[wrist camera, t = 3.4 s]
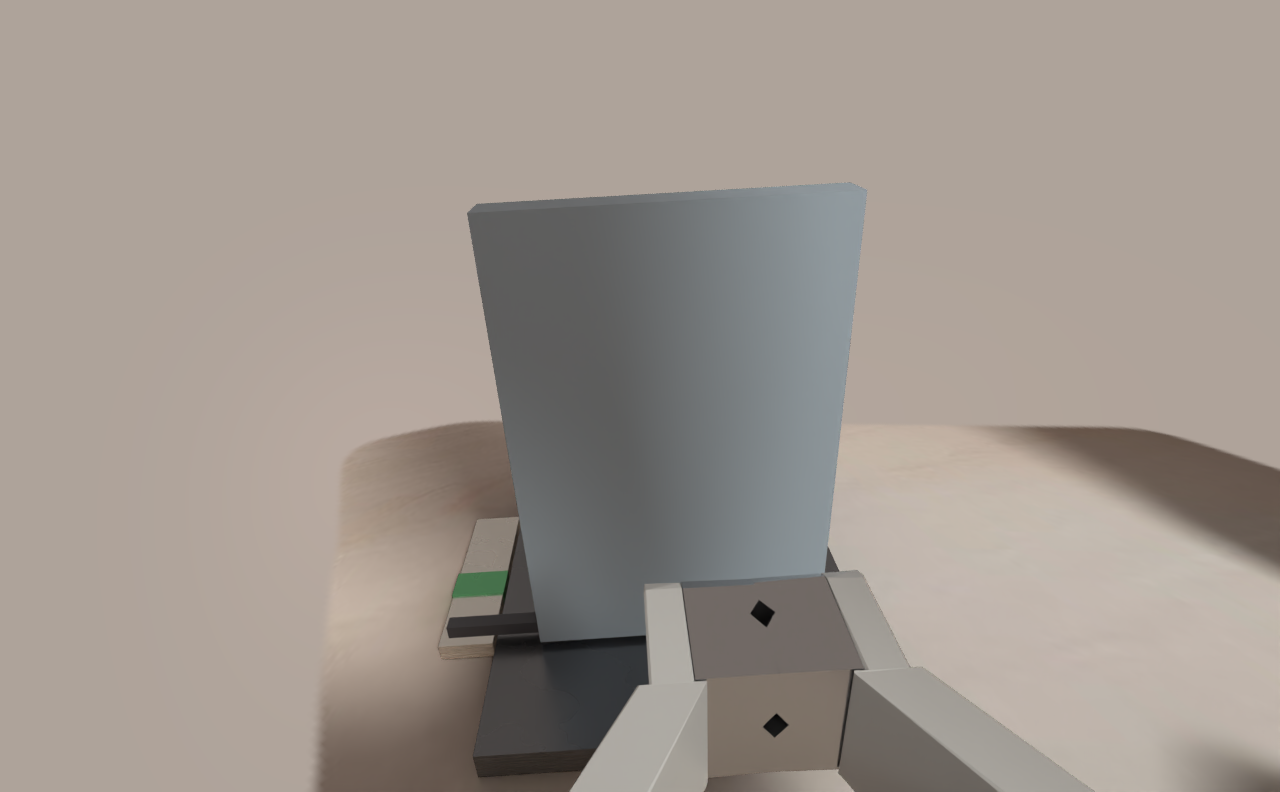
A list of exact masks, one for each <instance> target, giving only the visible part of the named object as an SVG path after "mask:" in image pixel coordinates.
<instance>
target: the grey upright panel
mask: <svg viewBox="0 0 1280 792" xmlns="http://www.w3.org/2000/svg"><path fill="white" fill-rule="evenodd" d="M866 196H867V190H866V189H864V188H862V187H859V186H857V185H855V184H852V183H834V184H815V185H798V186H782V187H781V186H780V187H763V188H746V189H728V190H712V191H694V192H677V193H659V194H642V195H624V196H607V197H590V198H572V199H555V200H538V201H521V202H503V203H486V204H476V205H475V206H474V207H473V208H472V209H471V210H470V211H469V212H468V213H467V215H468V221H469V227H470V233H471V239H472V244H473V250H474V256H475V262H476V268H477V274H478V280H479V286H480V291H481V297H482V303H483V309H484V315H485V320H486V326H487V332H488V338H489V344H490V350H491V356H492V361H493V367H494V373H495V379H496V385H497V391H498V396H499V402H500V408H501V414H502V420H503V426H504V432H505V438H506V443H507V449H508V455H509V461H510V467H511V473H512V479H513V484H514V490H515V496H516V502H517V508H518V514H519V520H520V525H521V531H522V537H523V543H524V549H525V555H526V561H527V566H528V572H529V578H530V584H531V590H532V596H533V601H534V607H535V612H528V613H513V614H497V615H482V616H467V617H451V618H449V621H448V625H447V628H446V629H447V633H448V636H449V638H462V637H477V636H492V635H507V634H523V633H538V632H539V637H540V642H552V641H567V640H582V639H597V638H613V637H628V636H643V635H646V624H645V607H644V584H654V583H680V585H681V582H685V581H710V580H735V579H750V578H764V577H777V576H791V575H805V574H821V573H825V565H826V556H827V547H828V538H829V529H830V520H831V511H832V502H833V493H834V484H835V475H836V466H837V457H838V448H839V439H840V430H841V421H842V412H843V403H844V394H845V385H846V376H847V367H848V358H849V349H850V340H851V331H852V322H853V313H854V304H855V295H856V286H857V277H858V268H859V259H860V250H861V241H862V231H863V223H864V213H865V205H866Z"/></svg>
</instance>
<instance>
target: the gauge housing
mask: <svg viewBox="0 0 1280 792" xmlns="http://www.w3.org/2000/svg"><path fill="white" fill-rule="evenodd" d="M828 572H839V570H838V567H837V565H836V563H835V561H834V559H833V556H832V554H831V552H830V550H829V548H828V547H827V556H826V565H825V573H828ZM452 597H453V600H452V603H451V607H450V610H449V613H448V616H447V620H446V623H445V626H444V630H443V633H442V636H441V639H440V643H439V646H438V648H439V652H440V655H441V659H456V658H471V657H486V656H494V657H493V662H492V667H491V671H490V676H489V681H488V686H487V691H486V696H485V700H484V705H483V710H482V715H481V720H480V725H479V729H478V734H477V739H476V744H475V749H474V754H473V759H474V763H475V767H476V770H477V774H478V777H487V776H502V775H517V774H531V773H546V772H561V771H575V770H583V769H584V768H585V766H586V765H587V763H588V762H589V760H590V759H591V757H592V755H593V754H594V752H595V751H596V749H597V748H598V746H599V745H600V743H601V741H602V740H603V738H604V737H605V735H606V734H607V732H608V731H609V729H610V728H611V726H612V724H613V723H614V721H615V720H616V718H617V717H618V715H619V714H620V712H621V711H622V709H623V707H624V706H625V704H626V703H627V701H628V700H629V698H630V697H631V695H632V694H633V692H634V690H635V689H636V687H637V686H638V685H648V684H649V676H648V658H647V641H646V635H643V636H628V637H613V638H597V639H582V640H567V641H552V642H540V637H539V632H538V633H523V634H507V635H492V636H477V637H462V638H449V636H448V633H447V629H446V628H447V625H448V621H449V618H451V617H467V616H482V615H497V614H513V613H528V612H535V607H534V601H533V596H532V590H531V584H530V578H529V572H528V566H527V561H526V555H525V549H524V543H523V537H522V531H521V525H520V520H519V517H506V518H490V519H477V522H476V525H475V529H474V532H473V535H472V538H471V542H470V545H469V548H468V551H467V555H466V558H465V561H464V564H463V568H462V571H461V574H459V575H458V578H457V581H456V585H455V588H454V591H453V594H452Z"/></svg>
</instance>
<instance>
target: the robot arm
mask: <svg viewBox="0 0 1280 792" xmlns="http://www.w3.org/2000/svg"><path fill="white" fill-rule="evenodd" d="M644 607H645V624H646V641H647V658H648V676H649V684H648V685H638V686H637V687H636V689H635V690H634V692H633V694H632V695H631V697H630V698H629V700H628V701H627V703H626V704H625V706H624V707H623V709H622V711H621V712H620V714H619V715H618V717H617V718H616V720H615V721H614V723H613V724H612V726H611V728H610V729H609V731H608V732H607V734H606V735H605V737H604V738H603V740H602V741H601V743H600V745H599V746H598V748H597V749H596V751H595V752H594V754H593V755H592V757H591V759H590V760H589V762H588V763H587V765H586V766H585V768H584V769H583V771H582V772H581V774H580V776H579V777H578V779H577V780H576V782H575V783H574V785H573V786H572V788H571V789H570V791H569V792H704V791H705V788H706V786H707V783H708V778H714V777H724V776H734V775H744V774H755V773H765V772H781V771H807V770H833V769H839V772H838V773H839V774H840V775H841V776H842V778H843V779H844V780H845V781H846V782H847V783H848V784H849V785H850V787H851V788H852V789H853V790H854V791H855V792H1095V791H1093V790H1092V789H1091V788H1089V787H1088V786H1087V785H1085V784H1084V783H1082V782H1081V781H1080V780H1078V779H1077V778H1075V777H1074V776H1073V775H1071V774H1070V773H1069V772H1067V771H1066V770H1064V769H1063V768H1062V767H1060V766H1059V765H1057V764H1056V763H1055V762H1053V761H1052V760H1051V759H1049V758H1048V757H1046V756H1045V755H1044V754H1042V753H1041V752H1039V751H1038V750H1037V749H1035V748H1034V747H1033V746H1031V745H1030V744H1028V743H1027V742H1026V741H1024V740H1023V739H1021V738H1020V737H1019V736H1017V735H1016V734H1015V733H1013V732H1012V731H1010V730H1009V729H1008V728H1006V727H1005V726H1003V725H1002V724H1001V723H999V722H998V721H997V720H995V719H994V718H992V717H991V716H990V715H988V714H987V713H985V712H984V711H983V710H981V709H980V708H979V707H977V706H976V705H974V704H973V703H972V702H970V701H969V700H967V699H966V698H965V697H963V696H962V695H961V694H959V693H958V692H956V691H955V690H954V689H952V688H951V687H949V686H948V685H947V684H945V683H944V682H943V681H941V680H940V679H938V678H937V677H936V676H934V675H933V674H931V673H930V672H929V671H927V670H926V669H925V668H923V667H910V665H909V664H908V662H907V660H906V658H905V656H904V654H903V652H902V650H901V648H900V646H899V644H898V642H897V640H896V638H895V636H894V634H893V632H892V630H891V628H890V626H889V624H888V622H887V620H886V619H885V617H884V615H883V613H882V611H881V609H880V607H879V605H878V603H877V601H876V599H875V597H874V595H873V593H872V591H871V589H870V587H869V585H868V583H867V581H866V579H865V577H864V575H863V574H861V573H860V572H859V571H858V570H854V571H841V572H828V573H821V574H805V575H791V576H777V577H764V578H750V579H735V580H710V581H685V582H681V585H680V583H654V584H644Z"/></svg>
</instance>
